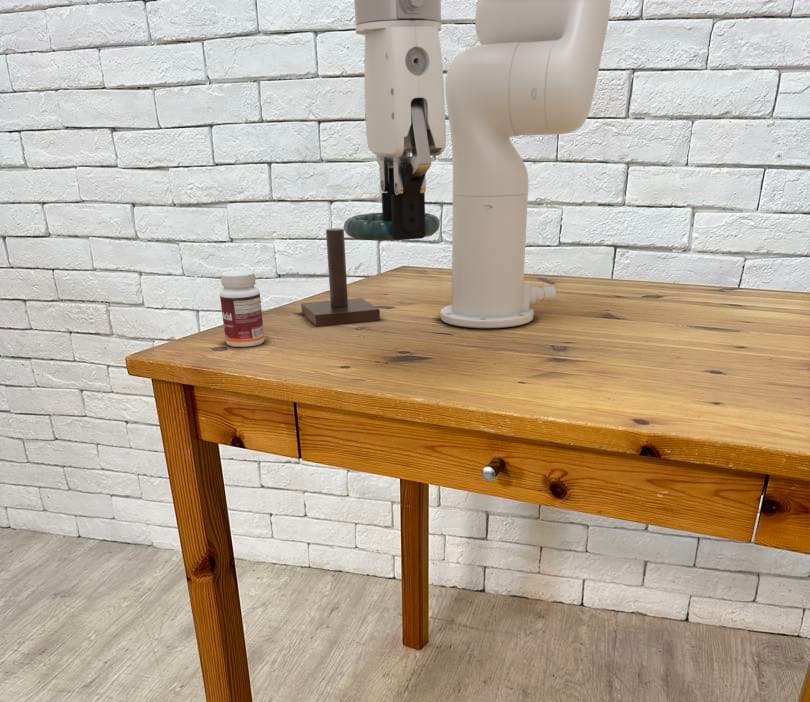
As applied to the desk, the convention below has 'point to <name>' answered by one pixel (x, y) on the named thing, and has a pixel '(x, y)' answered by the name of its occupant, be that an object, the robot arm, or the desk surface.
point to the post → (338, 291)
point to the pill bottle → (241, 309)
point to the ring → (381, 227)
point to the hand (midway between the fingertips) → (404, 235)
